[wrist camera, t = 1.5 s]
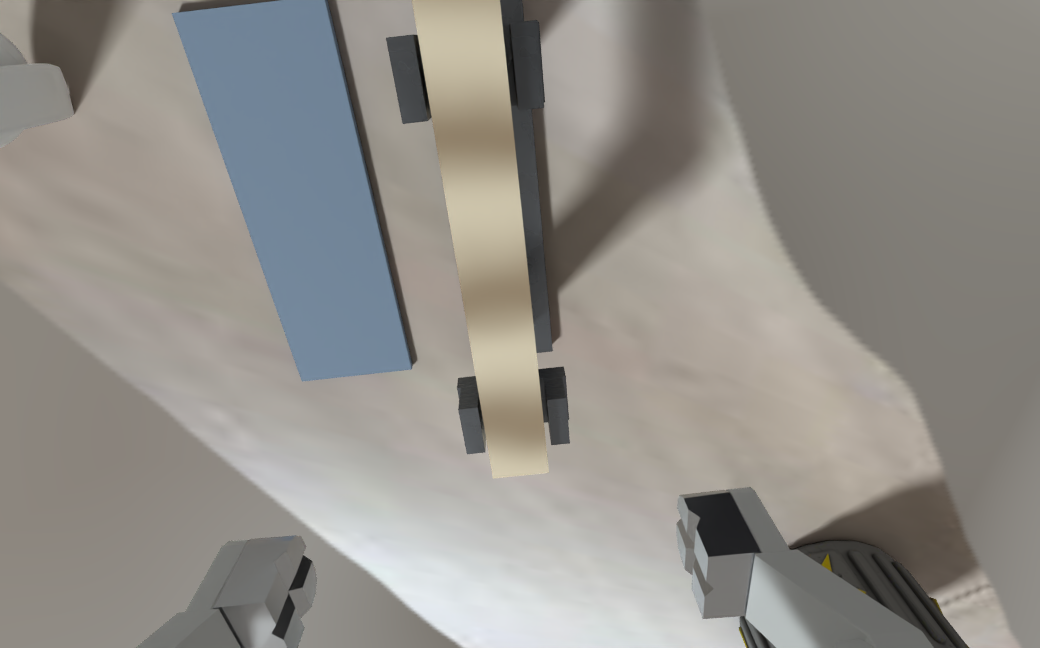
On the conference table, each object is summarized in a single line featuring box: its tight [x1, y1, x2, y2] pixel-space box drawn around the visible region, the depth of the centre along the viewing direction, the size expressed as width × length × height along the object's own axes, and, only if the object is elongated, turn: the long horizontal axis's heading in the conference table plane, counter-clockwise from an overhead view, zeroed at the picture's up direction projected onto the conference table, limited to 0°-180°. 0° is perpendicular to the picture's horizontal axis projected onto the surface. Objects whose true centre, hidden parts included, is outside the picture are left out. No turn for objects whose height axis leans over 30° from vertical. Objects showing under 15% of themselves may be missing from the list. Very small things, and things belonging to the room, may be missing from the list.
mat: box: [172, 0, 413, 381], centre depth 37 cm, size 26×9×1 cm, turn 6°
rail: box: [412, 0, 549, 479], centre depth 25 cm, size 22×3×3 cm, turn 6°
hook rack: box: [386, 0, 570, 454], centre depth 31 cm, size 25×6×15 cm, turn 6°
